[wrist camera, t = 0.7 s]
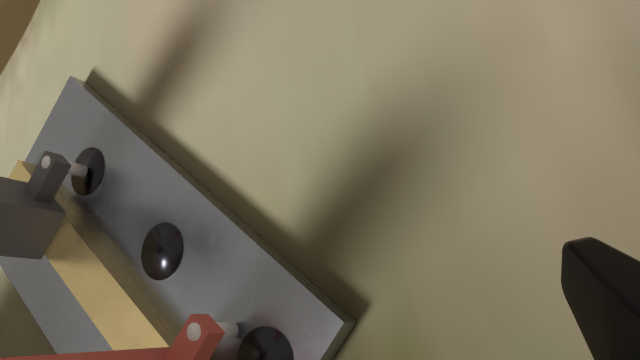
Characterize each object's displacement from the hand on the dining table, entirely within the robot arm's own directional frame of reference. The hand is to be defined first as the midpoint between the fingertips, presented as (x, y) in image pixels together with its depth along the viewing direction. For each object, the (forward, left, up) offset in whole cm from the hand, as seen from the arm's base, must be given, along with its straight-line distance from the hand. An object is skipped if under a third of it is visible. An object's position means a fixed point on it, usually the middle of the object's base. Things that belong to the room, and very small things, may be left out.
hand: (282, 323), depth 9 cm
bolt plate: (+10, +16, -13) cm, 23 cm away
